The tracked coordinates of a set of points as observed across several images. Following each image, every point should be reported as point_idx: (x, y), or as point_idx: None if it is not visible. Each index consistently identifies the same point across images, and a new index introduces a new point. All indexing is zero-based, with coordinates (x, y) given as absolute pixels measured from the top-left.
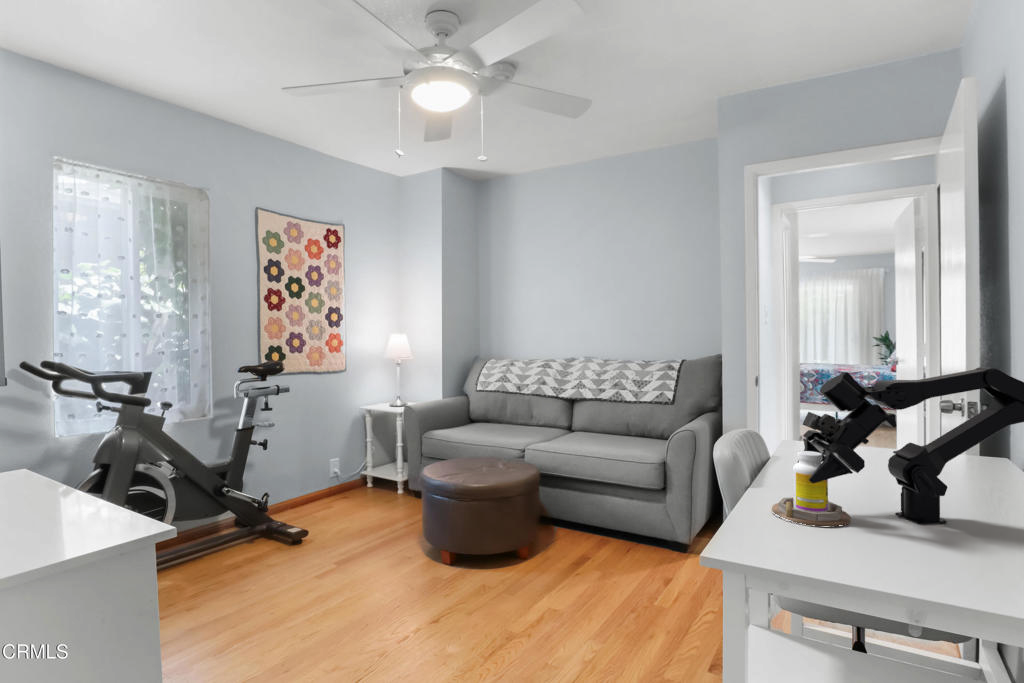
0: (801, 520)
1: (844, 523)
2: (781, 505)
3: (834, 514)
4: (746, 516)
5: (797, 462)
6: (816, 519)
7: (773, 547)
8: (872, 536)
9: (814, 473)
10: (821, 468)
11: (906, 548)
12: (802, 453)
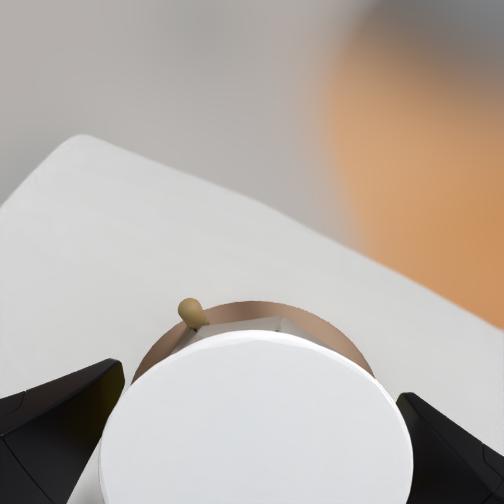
0: (159, 345)
1: None
2: (260, 319)
3: None
4: (248, 223)
5: (444, 417)
6: None
7: (58, 213)
8: None
9: (77, 377)
10: (21, 397)
11: None
12: (223, 366)
